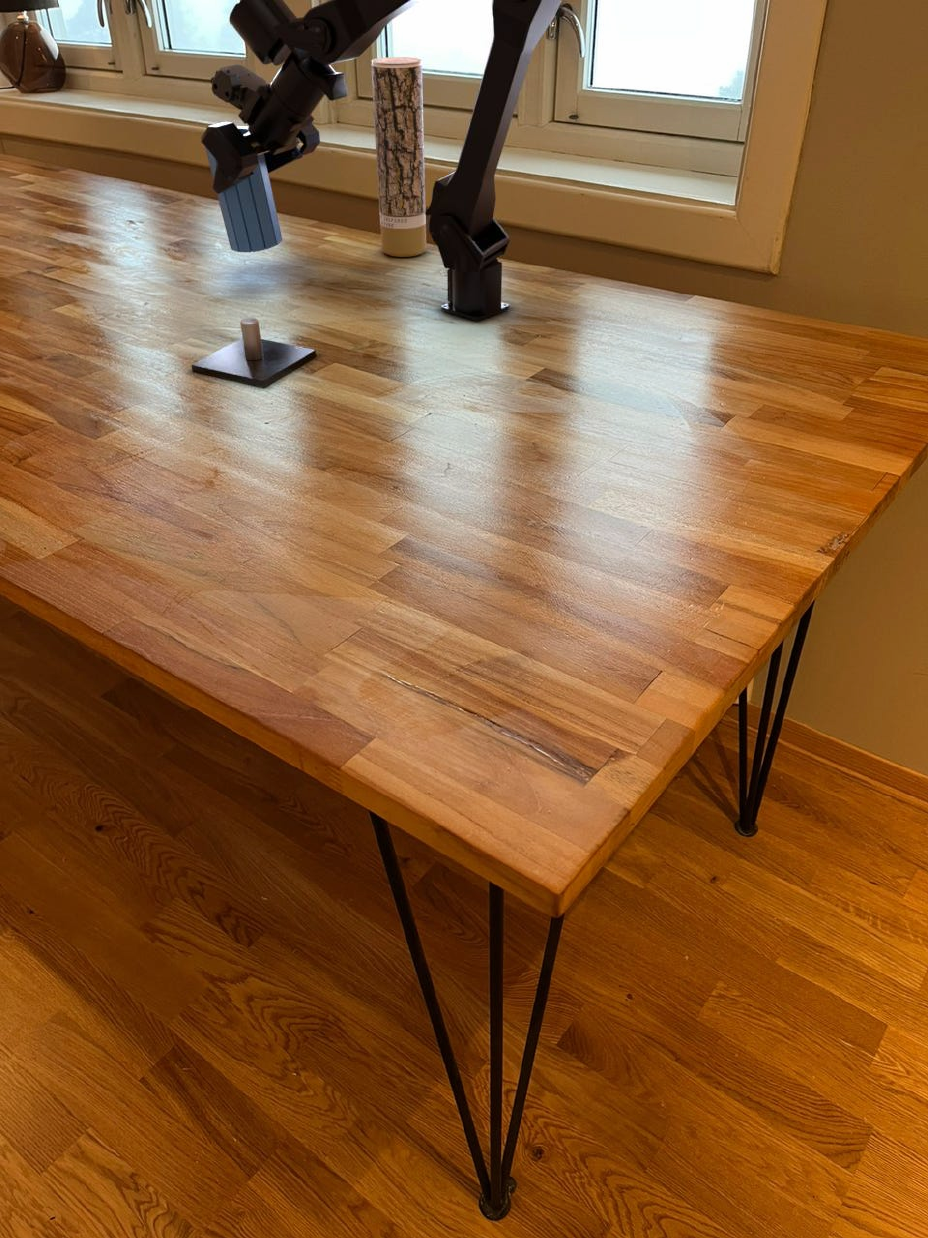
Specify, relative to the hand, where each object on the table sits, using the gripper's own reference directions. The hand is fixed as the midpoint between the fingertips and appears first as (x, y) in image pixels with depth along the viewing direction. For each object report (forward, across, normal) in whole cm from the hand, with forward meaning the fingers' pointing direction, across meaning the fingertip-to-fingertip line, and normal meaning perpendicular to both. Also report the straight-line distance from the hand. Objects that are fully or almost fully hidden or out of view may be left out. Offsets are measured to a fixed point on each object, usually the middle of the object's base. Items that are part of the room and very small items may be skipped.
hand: (233, 184), depth 125 cm
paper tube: (-2, -19, +19) cm, 27 cm away
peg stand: (-6, +27, +23) cm, 36 cm away
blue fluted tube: (+4, -1, +7) cm, 8 cm away
